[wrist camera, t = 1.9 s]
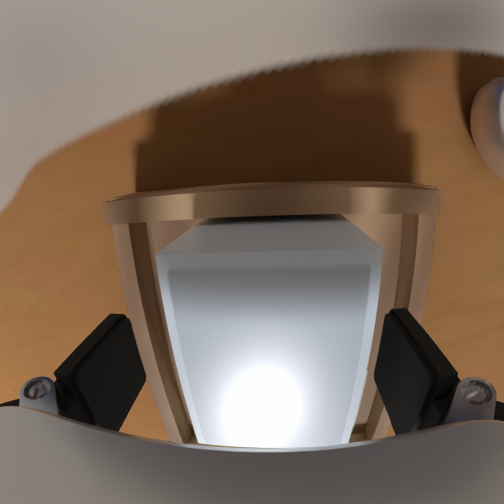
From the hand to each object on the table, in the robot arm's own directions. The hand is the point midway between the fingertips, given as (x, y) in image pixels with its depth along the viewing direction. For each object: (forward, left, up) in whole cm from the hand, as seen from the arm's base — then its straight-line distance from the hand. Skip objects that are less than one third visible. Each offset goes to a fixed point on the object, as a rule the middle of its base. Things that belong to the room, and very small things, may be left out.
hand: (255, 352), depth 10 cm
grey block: (-1, 0, -6) cm, 6 cm away
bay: (-1, +5, -7) cm, 9 cm away
